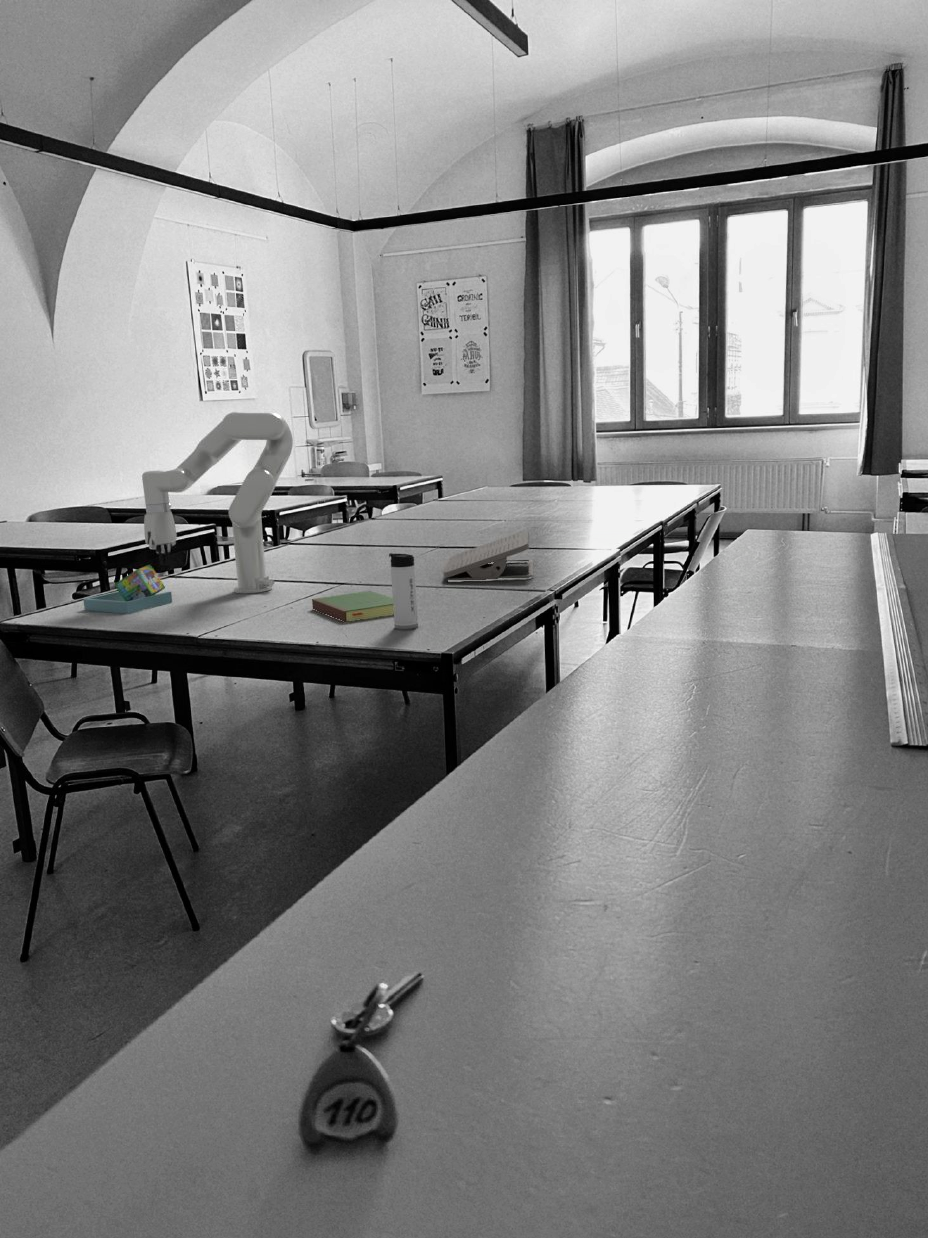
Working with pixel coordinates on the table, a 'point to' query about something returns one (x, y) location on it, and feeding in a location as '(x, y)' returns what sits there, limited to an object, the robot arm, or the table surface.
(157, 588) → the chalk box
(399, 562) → the travel mug
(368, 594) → the hardcover book
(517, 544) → the foot rest
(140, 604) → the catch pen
